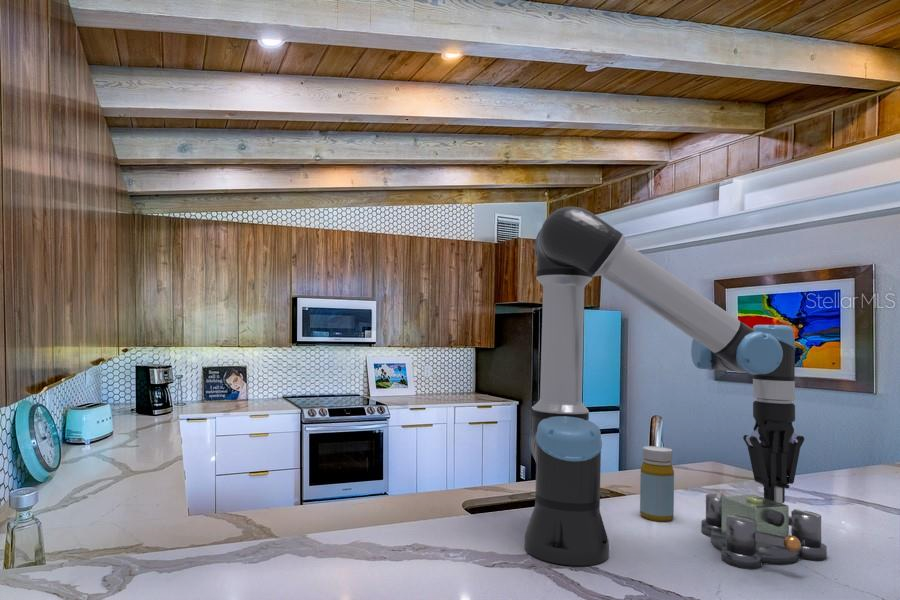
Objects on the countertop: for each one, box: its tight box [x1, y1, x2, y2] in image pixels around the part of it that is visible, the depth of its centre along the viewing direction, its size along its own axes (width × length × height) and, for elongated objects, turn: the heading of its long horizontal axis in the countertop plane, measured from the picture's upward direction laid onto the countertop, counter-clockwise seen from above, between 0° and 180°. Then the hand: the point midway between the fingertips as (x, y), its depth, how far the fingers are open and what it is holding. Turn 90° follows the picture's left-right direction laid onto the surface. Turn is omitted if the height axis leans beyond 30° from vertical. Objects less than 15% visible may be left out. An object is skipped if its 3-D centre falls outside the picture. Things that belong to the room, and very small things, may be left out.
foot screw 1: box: [705, 492, 726, 526], centre depth 124 cm, size 12×5×6 cm, turn 154°
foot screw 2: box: [726, 515, 801, 554], centre depth 103 cm, size 12×5×6 cm, turn 49°
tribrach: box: [700, 493, 828, 570], centre depth 114 cm, size 22×20×10 cm
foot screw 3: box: [789, 508, 822, 547], centre depth 113 cm, size 12×5×6 cm, turn 27°
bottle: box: [639, 445, 675, 523], centre depth 131 cm, size 7×7×15 cm
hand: (774, 519), depth 118 cm, fingers closed
